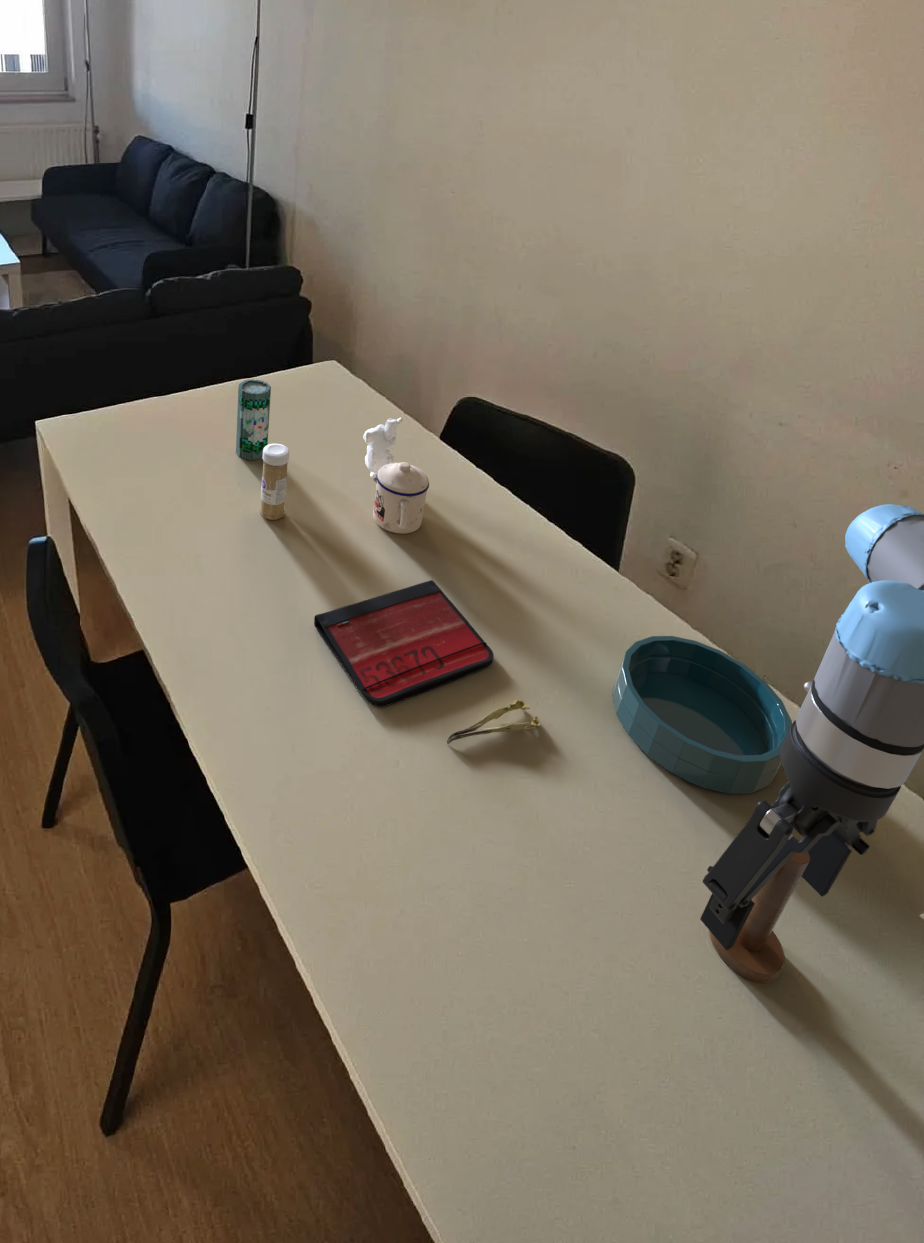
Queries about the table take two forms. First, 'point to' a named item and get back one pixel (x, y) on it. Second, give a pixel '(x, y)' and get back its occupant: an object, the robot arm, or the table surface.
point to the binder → (403, 643)
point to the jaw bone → (495, 715)
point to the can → (252, 418)
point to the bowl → (701, 714)
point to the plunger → (764, 927)
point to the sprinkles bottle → (274, 481)
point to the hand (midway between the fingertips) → (764, 906)
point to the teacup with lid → (400, 497)
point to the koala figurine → (380, 445)
